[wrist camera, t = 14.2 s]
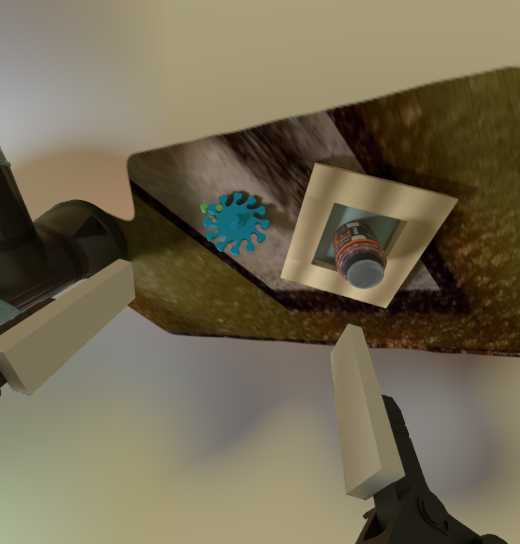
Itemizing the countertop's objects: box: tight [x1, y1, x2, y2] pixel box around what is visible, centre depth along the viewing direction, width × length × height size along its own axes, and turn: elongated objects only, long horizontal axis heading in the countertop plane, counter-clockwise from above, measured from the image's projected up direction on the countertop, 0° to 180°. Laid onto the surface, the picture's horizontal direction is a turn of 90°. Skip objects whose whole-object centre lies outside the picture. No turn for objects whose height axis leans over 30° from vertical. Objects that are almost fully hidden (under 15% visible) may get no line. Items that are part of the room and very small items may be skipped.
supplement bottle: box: [333, 221, 387, 289], centre depth 31 cm, size 6×6×11 cm
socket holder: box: [281, 162, 459, 308], centre depth 34 cm, size 18×18×3 cm
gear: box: [200, 192, 269, 256], centre depth 36 cm, size 11×6×10 cm
